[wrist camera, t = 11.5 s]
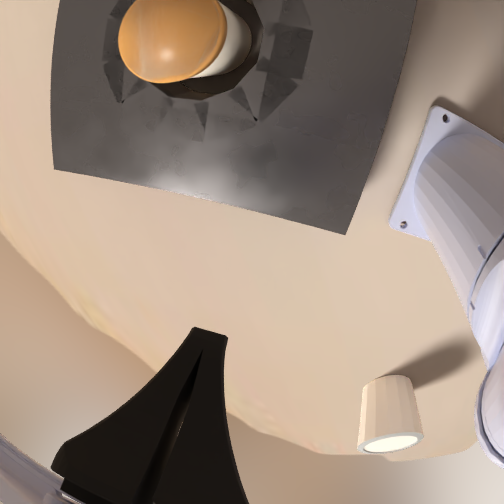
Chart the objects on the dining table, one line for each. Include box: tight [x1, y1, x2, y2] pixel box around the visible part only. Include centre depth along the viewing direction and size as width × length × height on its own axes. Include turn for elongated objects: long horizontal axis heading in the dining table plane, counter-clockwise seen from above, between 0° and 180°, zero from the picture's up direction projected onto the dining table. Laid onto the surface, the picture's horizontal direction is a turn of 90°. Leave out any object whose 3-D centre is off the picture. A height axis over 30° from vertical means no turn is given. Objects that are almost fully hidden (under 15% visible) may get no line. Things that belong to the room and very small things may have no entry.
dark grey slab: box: [51, 0, 417, 235], centre depth 12 cm, size 18×16×3 cm
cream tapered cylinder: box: [357, 375, 424, 454], centre depth 25 cm, size 7×7×7 cm
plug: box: [118, 0, 252, 83], centre depth 10 cm, size 4×4×6 cm
